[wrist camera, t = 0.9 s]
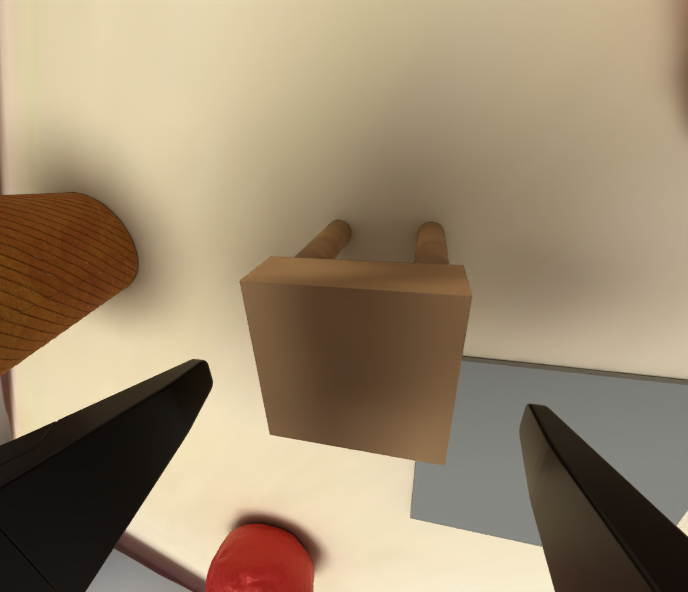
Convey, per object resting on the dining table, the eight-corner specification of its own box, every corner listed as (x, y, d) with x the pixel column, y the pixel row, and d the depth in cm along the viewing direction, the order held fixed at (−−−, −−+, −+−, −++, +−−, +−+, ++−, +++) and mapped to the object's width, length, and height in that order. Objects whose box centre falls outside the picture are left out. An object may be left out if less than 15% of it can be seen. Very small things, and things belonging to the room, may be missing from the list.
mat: (764, 388, 15) (772, 394, 14) (640, 561, 21) (644, 568, 21) (425, 352, 18) (425, 357, 18) (410, 512, 25) (410, 518, 24)
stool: (450, 217, 14) (472, 296, 7) (437, 330, 17) (445, 465, 10) (322, 216, 16) (239, 280, 9) (329, 321, 18) (269, 434, 11)
